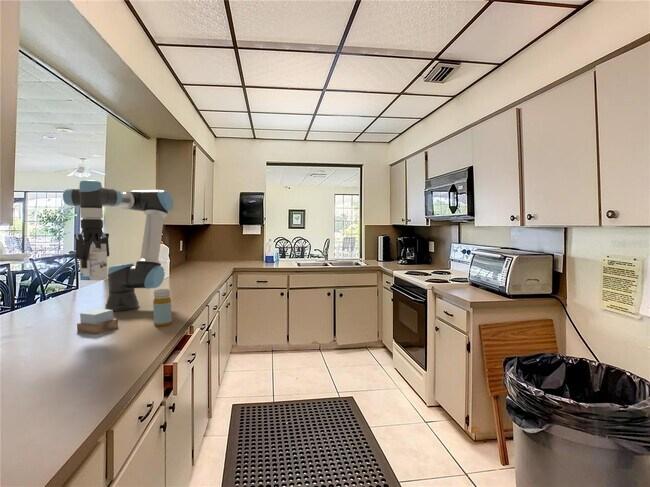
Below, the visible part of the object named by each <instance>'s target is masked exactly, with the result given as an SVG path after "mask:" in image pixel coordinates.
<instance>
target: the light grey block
mask: <svg viewBox="0 0 650 487" xmlns="http://www.w3.org/2000/svg"><path fill="white" fill-rule="evenodd" d="M79 315H80V323H85V324H94V325H96V324H99V323H102V322H106V321H109V320H112V319H114V311H113V310H107V309H104V308H96V309H92V310H89V311H88V310H87V311H84V312H81V313H79Z"/></svg>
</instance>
